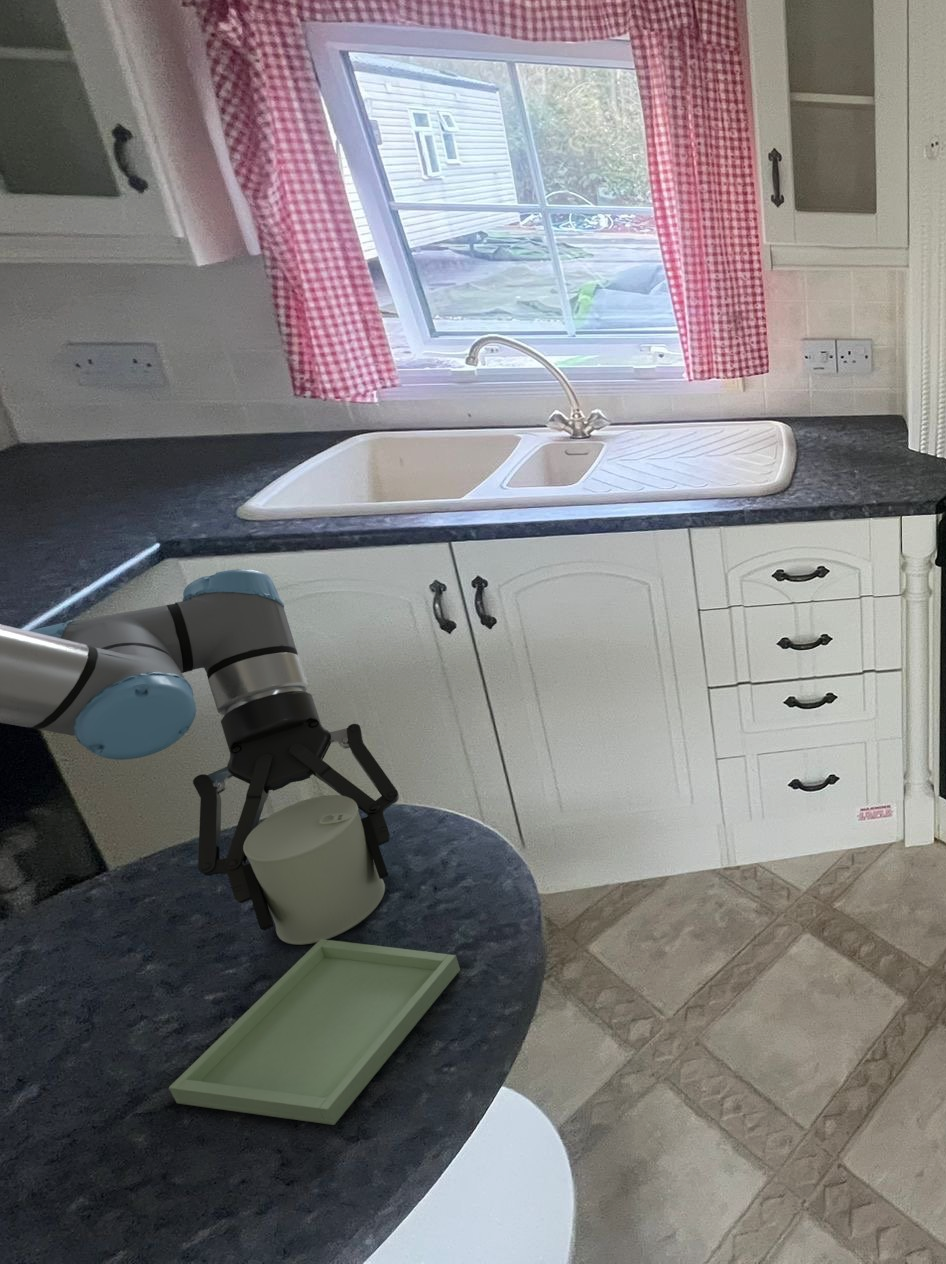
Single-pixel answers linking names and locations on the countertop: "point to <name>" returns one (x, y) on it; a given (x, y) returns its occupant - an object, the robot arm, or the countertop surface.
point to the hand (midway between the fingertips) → (327, 900)
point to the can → (315, 868)
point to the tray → (318, 1032)
